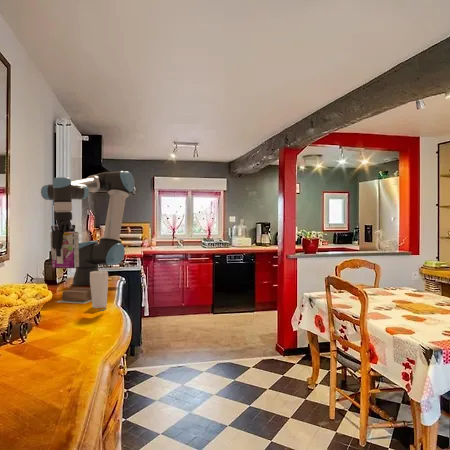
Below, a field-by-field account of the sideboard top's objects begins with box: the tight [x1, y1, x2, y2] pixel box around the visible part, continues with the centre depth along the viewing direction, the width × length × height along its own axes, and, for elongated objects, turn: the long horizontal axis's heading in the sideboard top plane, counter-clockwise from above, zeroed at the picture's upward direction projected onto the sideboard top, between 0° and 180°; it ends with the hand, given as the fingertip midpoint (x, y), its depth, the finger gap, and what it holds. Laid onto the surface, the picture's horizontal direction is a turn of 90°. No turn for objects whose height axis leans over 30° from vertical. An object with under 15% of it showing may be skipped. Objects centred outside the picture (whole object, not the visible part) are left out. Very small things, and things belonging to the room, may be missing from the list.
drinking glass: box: [89, 270, 109, 312], centre depth 150 cm, size 7×7×15 cm
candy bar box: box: [50, 231, 80, 269], centre depth 175 cm, size 11×5×16 cm, turn 84°
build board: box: [56, 299, 92, 305], centre depth 164 cm, size 14×14×2 cm
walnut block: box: [61, 286, 92, 302], centre depth 164 cm, size 10×10×4 cm
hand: (64, 262), depth 176 cm, fingers closed on candy bar box, 5 cm apart
